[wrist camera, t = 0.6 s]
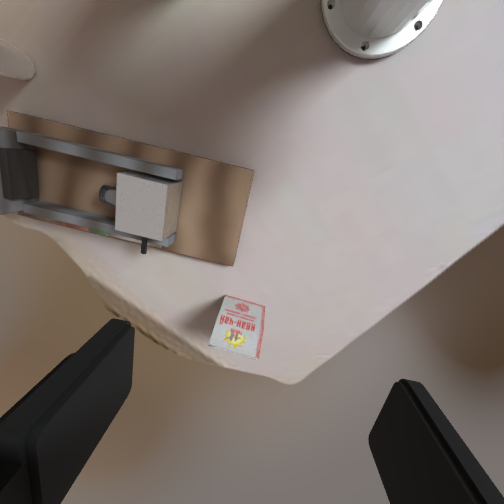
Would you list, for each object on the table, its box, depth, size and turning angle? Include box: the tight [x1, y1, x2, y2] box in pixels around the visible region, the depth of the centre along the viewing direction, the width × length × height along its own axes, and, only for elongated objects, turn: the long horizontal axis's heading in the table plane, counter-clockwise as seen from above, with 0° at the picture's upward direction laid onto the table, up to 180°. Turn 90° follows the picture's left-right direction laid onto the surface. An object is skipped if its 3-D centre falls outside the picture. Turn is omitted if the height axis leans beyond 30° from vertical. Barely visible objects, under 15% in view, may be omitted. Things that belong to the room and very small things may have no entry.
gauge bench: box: [0, 111, 254, 266], centre depth 33 cm, size 33×14×8 cm, turn 77°
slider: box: [99, 171, 182, 254], centre depth 33 cm, size 9×10×5 cm
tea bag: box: [208, 295, 265, 360], centre depth 37 cm, size 4×7×10 cm, turn 74°
